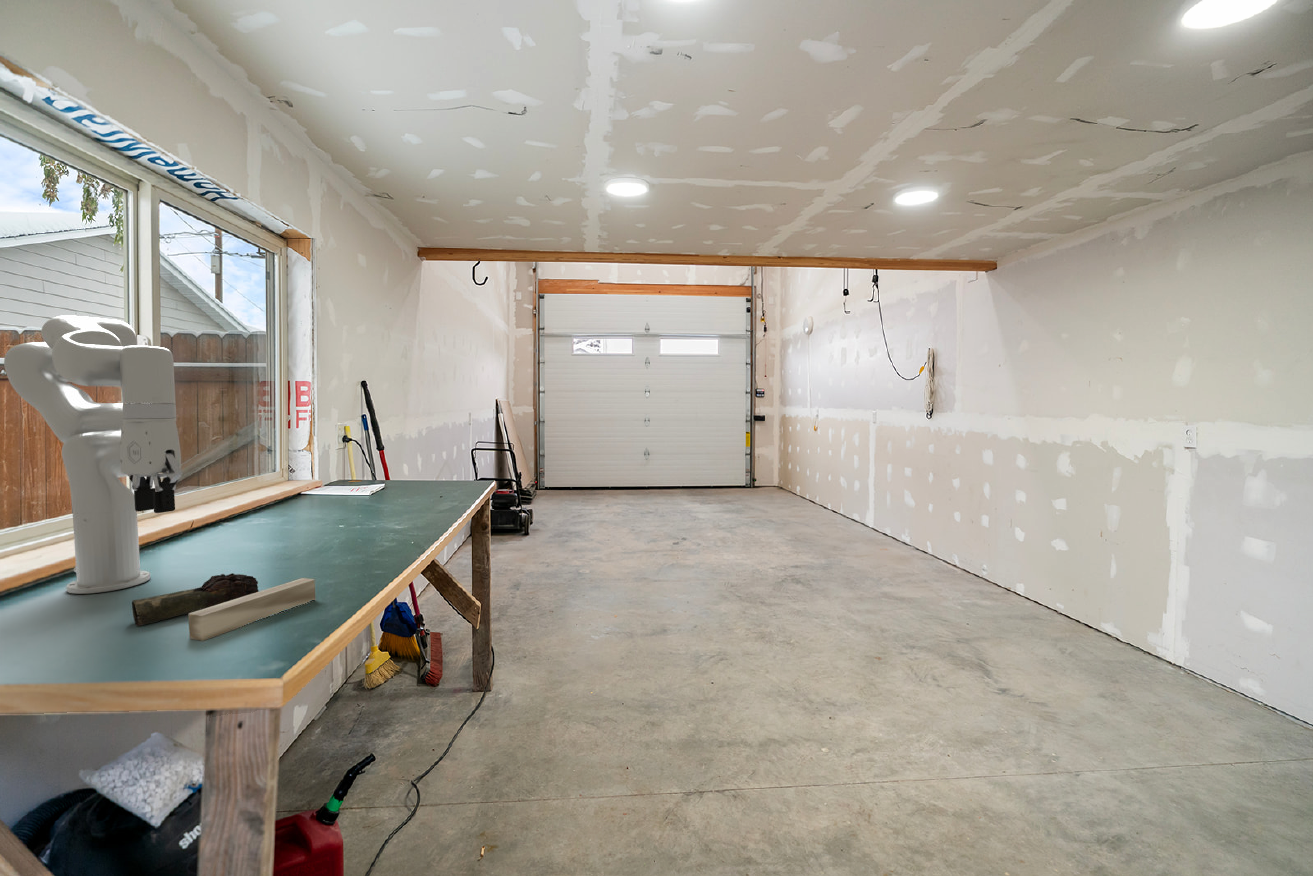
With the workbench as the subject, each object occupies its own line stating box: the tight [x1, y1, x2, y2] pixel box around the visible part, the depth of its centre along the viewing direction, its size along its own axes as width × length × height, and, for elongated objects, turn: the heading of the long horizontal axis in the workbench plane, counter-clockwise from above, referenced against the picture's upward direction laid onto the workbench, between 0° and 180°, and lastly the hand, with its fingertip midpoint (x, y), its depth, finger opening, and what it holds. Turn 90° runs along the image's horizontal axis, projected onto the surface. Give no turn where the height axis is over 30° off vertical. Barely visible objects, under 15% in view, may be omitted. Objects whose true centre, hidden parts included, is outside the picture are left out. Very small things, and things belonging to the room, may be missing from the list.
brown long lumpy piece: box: [131, 572, 260, 628], centre depth 105 cm, size 18×7×6 cm, turn 138°
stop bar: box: [187, 577, 316, 642], centre depth 101 cm, size 3×20×4 cm, turn 160°
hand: (155, 510), depth 109 cm, fingers open, 4 cm apart
